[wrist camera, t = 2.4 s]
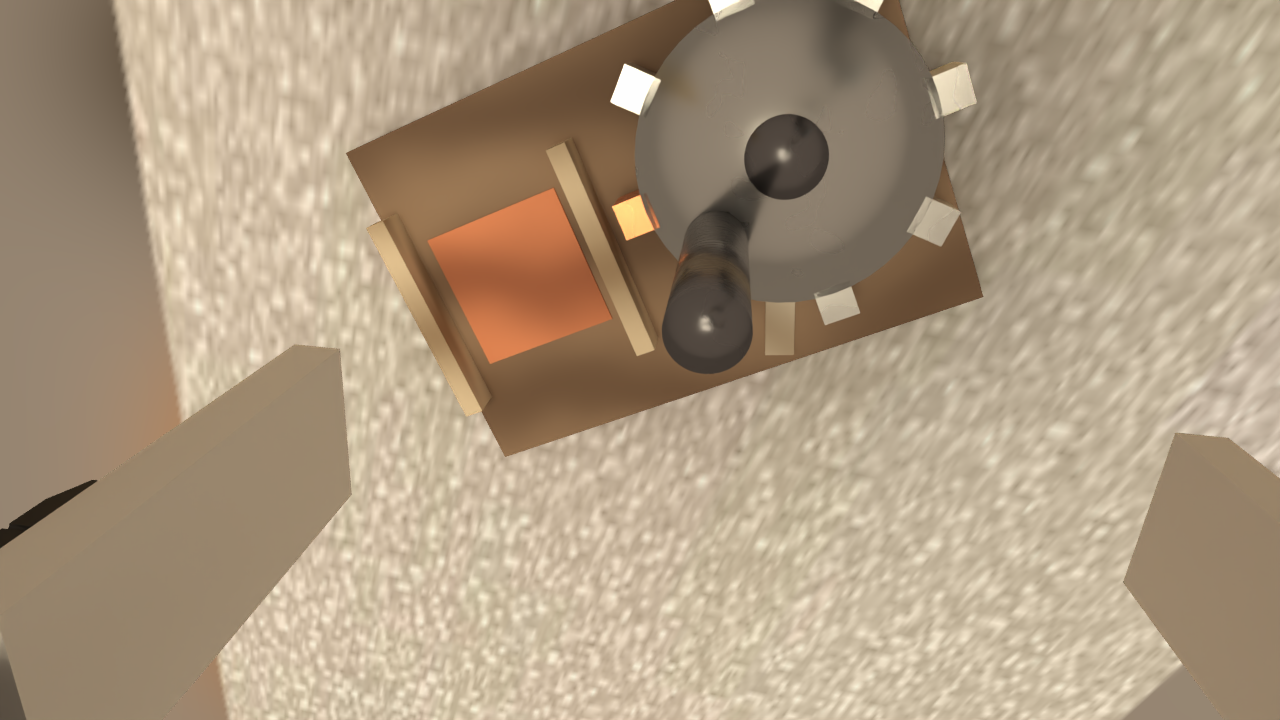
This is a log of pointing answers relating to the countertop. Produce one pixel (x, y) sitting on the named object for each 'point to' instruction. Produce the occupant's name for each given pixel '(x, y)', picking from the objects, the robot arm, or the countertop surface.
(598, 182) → the brown wooden board
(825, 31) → the sprocket
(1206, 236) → the countertop surface
